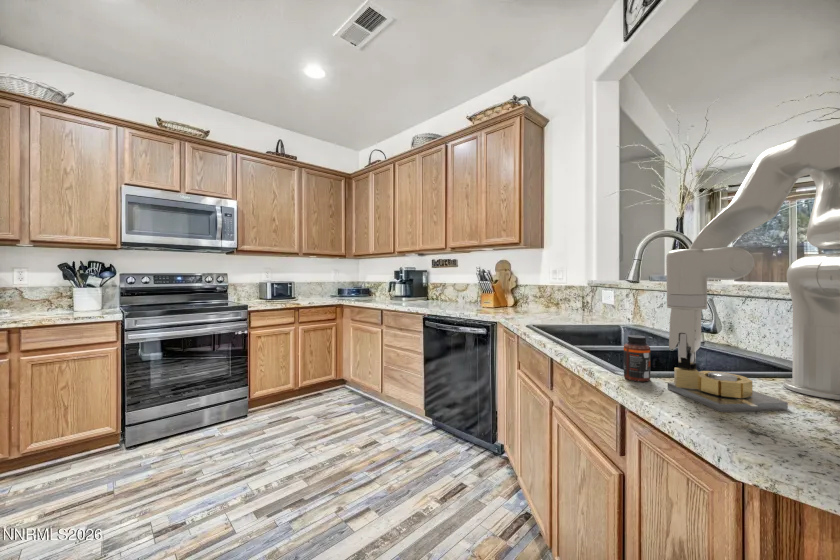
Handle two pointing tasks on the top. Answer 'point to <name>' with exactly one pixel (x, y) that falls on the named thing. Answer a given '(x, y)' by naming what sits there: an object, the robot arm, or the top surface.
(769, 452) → the top surface
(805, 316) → the robot arm
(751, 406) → the spindle plate
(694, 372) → the segmented octagonal ring
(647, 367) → the supplement bottle
